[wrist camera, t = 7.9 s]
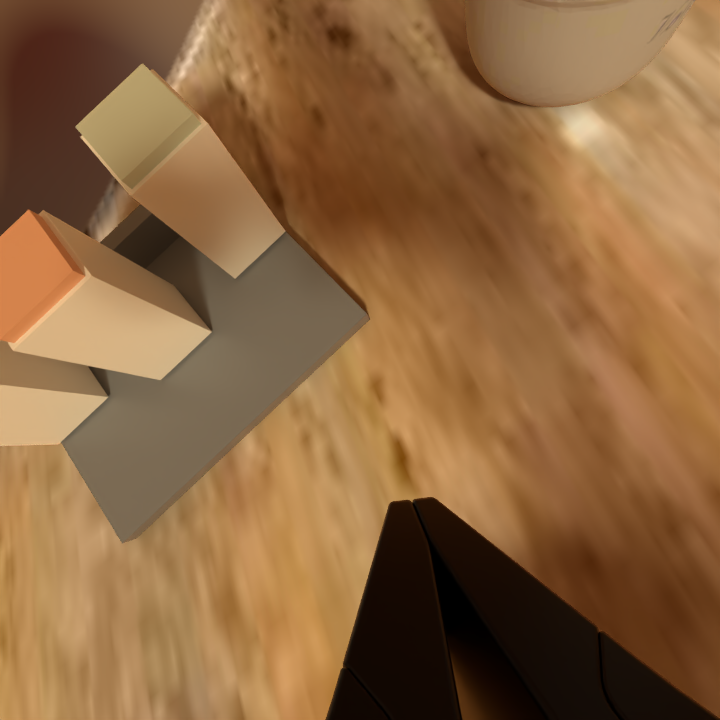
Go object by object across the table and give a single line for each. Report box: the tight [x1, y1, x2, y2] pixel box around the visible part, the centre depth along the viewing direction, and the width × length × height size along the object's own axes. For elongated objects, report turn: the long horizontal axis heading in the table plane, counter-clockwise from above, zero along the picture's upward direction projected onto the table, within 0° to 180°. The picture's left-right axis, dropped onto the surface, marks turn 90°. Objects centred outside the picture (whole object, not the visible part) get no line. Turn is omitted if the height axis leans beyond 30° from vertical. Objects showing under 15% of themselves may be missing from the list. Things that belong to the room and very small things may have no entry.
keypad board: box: [61, 204, 370, 543], centre depth 22 cm, size 13×18×4 cm
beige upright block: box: [76, 64, 285, 278], centre depth 19 cm, size 4×4×8 cm
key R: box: [0, 210, 212, 380], centre depth 18 cm, size 4×4×8 cm
